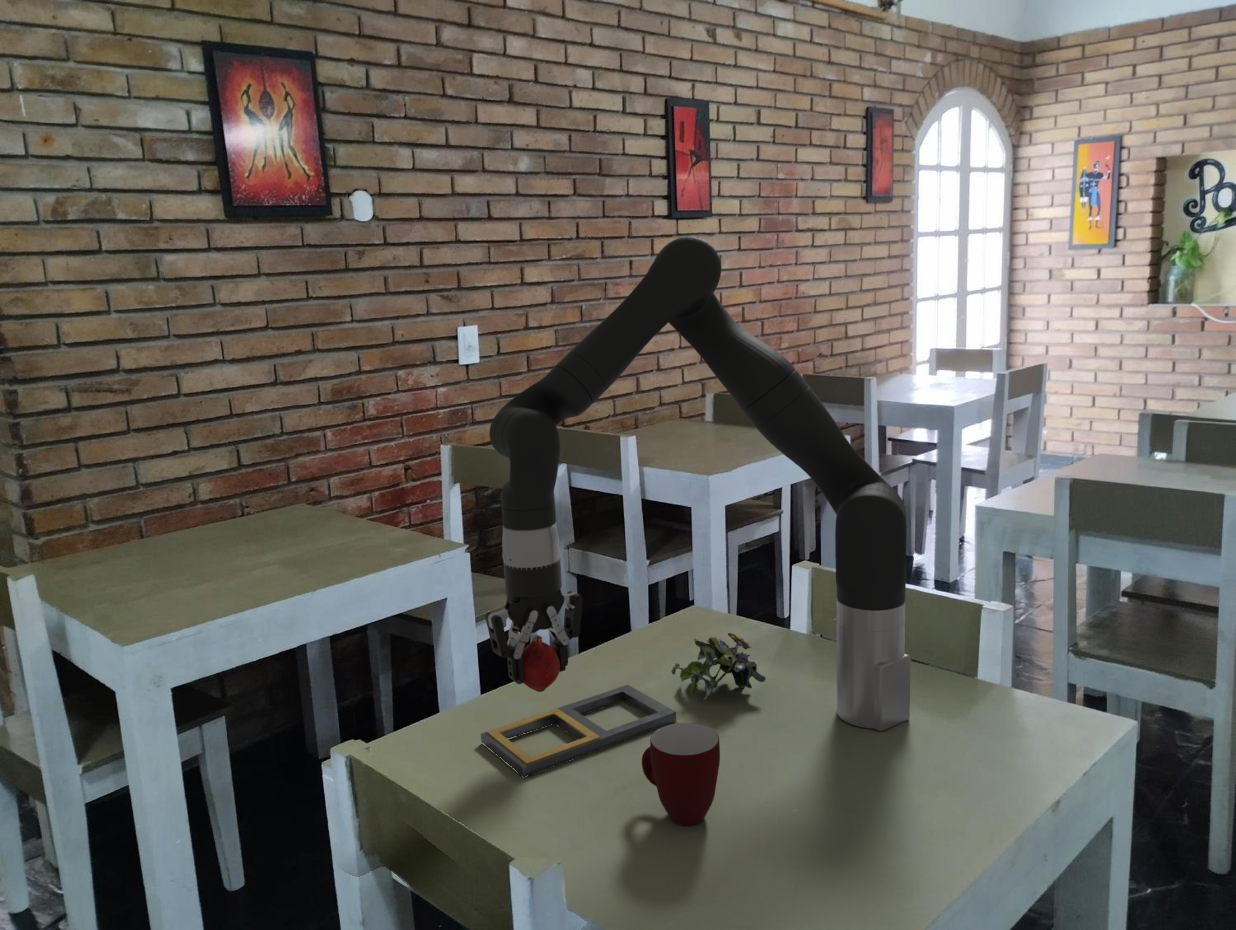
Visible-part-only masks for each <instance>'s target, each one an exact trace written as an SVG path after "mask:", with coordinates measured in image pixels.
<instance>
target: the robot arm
mask: <svg viewBox="0 0 1236 930" xmlns="http://www.w3.org/2000/svg"><path fill="white" fill-rule="evenodd" d="M721 276H722V262H721V259H720V255H719V254H718V252H717V250H716V249H715V248H714V247H713V245H712V244H711V243H709V242H708V241H706V240H705V239H702V238H699V237H696V236H681V237H678V238H675V239H674V240H672V241H669V242H668V243H667V244H666V245H664V246H663V247H662V248H661V249H660V251H659V252H658V253H657V255H656V257H655V258H654V261H653V262H652V264H651V265H650V266H649V268H648V271H647V272H646V274H644V277H642V279H641V280H640V281H639V283H638V284H637V285H636V286H635V287H634V288H633V290H632V291H631V292H630V293H629V294H628V296H626V298H625V299H624V300H623V301H622V302H621V303H620V304H619V305H618V306H617V307H616V308H615V309H614V310H613V311H612V312H611V313H610V314H609V315H608V316H607V317H606V318H604V320H602V321H601V322H600V323H599V324H598V325H597V326H596V327H595V328H594V329H593V330H591V331H590V332H589V333H588V334H587V335H586V336H585V337H584V338H582V339H581V341H579V343H577V344H576V345H575V346H574V347H573V348H572V349H570V351H569V352H568V353H567V354H566V355H564V357H563V358H562V359H561V360H560V361H559V362H557V364H555V365H554V366H553V367H552V369H551V370H549V372H548V373H546V375H545V376H544V377H542V378H541V379H540V380H537V382H535V383H533V384H532V385H530V386H528V387H527V388H526V389H524V390H523V391H522V392H520V393H519V394H517V395H516V396H514V397H513V398H512V399H510V400H509V401H508V402H507V403H505V404H504V405H503V406H502V407H501V408H500V410H498V412H496V414H495V416H494V417H493V419H492V420H491V424H490V425H489V434H488V435H489V440H490V443H491V445H492V448H493V449H494V450H495V451H496V452H497V453H498V454H500V455H501V456H502V457H505V458H508V459H509V481H507V482H506V483H504V485H503V486H502V489H501V494H500V495H501V496H500V501H501V502H500V503H501V517H502V539H501V541H502V543H501V545H502V560H503V575H504V586H505V587H504V589H505V594H506V603H505V605H504V608H503V609H501V610H499V611H496V612H494V611H493V612H492V611H488V612H486V613H485V616H484V619H485V623H486V627H487V630H488V635H489V639H490V640H489V641H490V644H491V649H492V652H494V653H495V654H497V656H500V657H501V658H503V659H506V658H507V659H506V660H507V661H506V662H507V671H508V672H507V673H508V677H509V678H510V679H511V680H512V681H513V682H514V683H515V684H517V685H523V684H524V669H523V658H522V657H521V655H522V652H523V650H524V648H525V647H526V644H527V643H528V642H529V640H530V638H531V634H534V633H537V632H538V631H541V630H548V632H549V634H550V636H551V638H552V639H553V640H554V641H552V642H551V647H552V648H553V649H554V650H555V651H556V653H557V655H558V658H559V662H560V672H559V673H561V672H564V671H566V670H567V669H566V668H567V666H568V664H569V653H568V652H569V651H568V644H569V642H570V640H572V639H574V638H575V639H577V638H579V637H580V635H581V624H582V623H581V622H582V613H583V611H582V610H583V600H584V598H583V596H582V595H581V594H579V593H577V592H574V591H571V590H569V591H567V592H566V593H563V592H562V590H561V589H562V569H561V567H562V566H561V565H562V564H561V550H560V536H559V531H558V528H557V527H558V525H557V515H556V514H557V513H556V499H555V487H556V481H557V477H558V472H559V471H558V470H559V463H560V457H561V440H560V439H561V437H560V434H559V429H558V427H557V426H558V425H559V424H560V423H561V422H562V421H565V420H567V419H571V418H576V417H578V416H581V415H582V414H583V413H585V412H586V411H587V410H588V409H589V408H590V407H592V405H593V404H594V403H595V402H596V401H597V400H599V398H600V397H601V396H603V394H604V393H605V392H607V390H608V389H609V388H610V387H611V386H612V385H613V384H614V383H615V382H616V381H617V380H618V379H619V377H620V376H621V375H622V374H623V373H624V372H625V371H626V369H627V368H628V367H629V366H630V365H631V364H632V362H633V361H634V360H635V358H637V356H638V355H639V354H640V353H641V352H642V350H643V349H644V348H645V347H646V346H647V345H648V344H649V343H650V342H651V340H653V338H654V337H655V336H656V335H657V334H658V333H659V332H660V331H661V330H662V329H663V328H664V327H666V325H667V324H669V325H670V326H671V327H672V328H673V329H674V330H675V331H676V332H677V333H678V334H679V335H680V336H681V337H682V338H683V339H684V340H685V341H686V342H687V343H688V344H689V345H690V346H691V347H692V348H693V349H694V351H695V352H696V353H697V354H698V355H699V356H700V357H701V359H702V360H703V361H704V363H706V365H707V366H708V368H709V369H710V371H711V372H712V373H713V375H714V376H715V377H716V379H717V380H718V381H719V382H720V383H721V384H722V385H723V387H724V388H725V390H726V391H727V392H728V393H729V394H730V396H731V398H733V400H734V401H735V402H736V404H737V405H738V407H739V408H740V409H741V411H743V413H744V414H745V415H746V418H747V419H749V421H750V422H751V424H753V426H754V428H756V429H757V431H758V432H759V433H760V434H761V436H763V437H764V438H765V439H766V440H767V441H768V442H769V443H770V444H771V445H772V446H773V447H774V448H775V449H776V450H778V451H779V452H780V453H781V454H782V455H784V456H785V457H786V458H788V460H790V461H792V463H794V464H795V465H796V466H798V467H799V468H800V469H801V470H802V471H803V472H805V473H806V475H807V476H809V478H810V479H811V480H812V482H813V483H815V485H816V486H817V487H818V488H817V489H819V490H820V492H821V493H822V495H823V496H824V498H825V499H826V500H827V502H828V503H829V505H830V506H831V509H832V510H833V511H834V513H835V515H836V516H835V517H836V518H835V528H834V530H835V532H834V534H835V535H834V538H835V539H834V543H835V544H834V547H835V548H834V549H835V551H834V552H835V554H834V555H835V557H834V559H835V584H836V585H835V586H836V714H837V716H838V717H839V718H840V720H842V721H844V722H846V723H847V724H849V725H853V726H856V727H860V728H866V729H872V730H873V729H874V730H877V731H879V732H882V731H884V730H885V731H886V730H887V729H889V728H890V729H891V728H893V727H894V726H896V725H899V724H901V723H904V722H906V721H908V720H909V719H910V715H911V713H910V710H911V706H910V705H911V656H910V655H909V654H908V653H905V637H906V635H905V634H906V633H905V632H906V631H905V629H906V628H905V627H906V626H905V625H906V623H905V622H906V590H907V589H906V588H907V586H906V585H907V535H908V533H907V530H908V529H907V528H908V526H907V511H906V506H905V503H904V501H903V499H902V497H901V496H900V495H899V493H898V492H897V491H896V490H895V489H894V488H893V486H891V485H890V483H888V482H887V481H886V480H885V479H884V478H883V477H882V476H881V475H880V474H879V473H878V472H877V471H876V470H875V469H874V468H873V467H872V466H871V465H870V464H869V463H868V461H866V460H865V459H864V457H862V456H861V455H860V454H859V453H858V452H857V450H856V449H855V448H854V447H853V446H852V445H851V443H850V442H849V440H848V439H847V437H846V436H845V435H844V433H843V432H842V430H841V428H840V427H839V425H838V424H837V422H836V421H835V420H834V418H833V416H832V415H831V413H830V412H829V411H828V409H827V408H826V407H825V405H824V404H823V402H822V401H821V400H820V398H819V397H818V395H817V394H816V393H815V392H814V390H813V389H812V388H811V386H810V384H808V383H807V381H806V380H805V378H804V377H803V376H802V375H801V374H800V372H799V371H798V370H797V369H796V367H794V365H793V364H792V363H791V362H790V361H789V360H788V359H787V358H786V357H785V356H784V355H783V354H782V353H780V352H779V351H777V350H776V349H775V348H773V347H772V346H770V345H769V344H767V343H766V342H763V341H762V340H761V339H760V338H758V337H756V336H754V335H753V334H752V333H750V332H748V331H747V330H745V328H743V327H742V326H741V325H739V323H738V322H737V321H736V320H735V319H734V318H733V317H732V316H731V315H730V313H729V312H728V311H727V309H726V308H725V307H724V305H723V304H722V303H721V302H720V300H719V299H718V297H717V296H716V293H714V292H716V289H717V287H718V285H719V284H720V279H721ZM562 607H563V608H564V616H563V617H564V619H563V623H562V621H561V619H560V617H559V614H560V612H561V610H562ZM507 619H509V620H510V621H511V623H510V627H509V630H508V634H507V635H508V640H507V637H506V631H505V628H506V627H507ZM520 630H521V632H520Z"/></svg>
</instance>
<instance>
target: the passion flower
mask: <svg viewBox="0 0 1236 930" xmlns="http://www.w3.org/2000/svg"><path fill="white" fill-rule="evenodd" d="M727 635H728V637H729V638H730V639H732V640H733V642H734V643H736V644H735V646H732V647H730V646H729V644H727V643H726V642H725V641H723V640H722V639H721V638H720V639H718V638H717V637H716V636H710V637H709V638H708V639H706V642H707V643H706V642H704V641H700V640H699V639H698V638H697V637H695V638H694V639H693V640H694V645H696V646H697V647H698V648H699V649H700V651H699V652H698V656H697V660H695V661H690V663H688V665H687V666H686V667H684V668H682V667H681V666H680V663H677V662H676V663H675V664H674V666H673V667H672V669H671V673H672V675H673V676H674V675H675V674H676V671H677V669H678V670H681V671H680V673H679V674H680V675H679V677H680V680H681V682H684V681H686V680H689V679H690V682H691V683H692V684H691V685H690V693H691V694H692V695H693V693H694V691H695V688H696V686H697V684H698V683H699V681H701V680H703V682H704V690H705V691H704V692H705V694H704V699H703V700H702V702H701V703H702V704H704V703H705V701H706V700H707V698H708V696H709V695H710V694H711V693H712V692H713V691H714V690H715V688H717V687H718V684H719V682H721V680H722V679H723V678H724V677H725V676H726V674H731V675H732V676H733V680H734V683H735V685H736V686H737V687H739V688H740V689H743V688H747V689H752V688H753V686H752V684H751V682H750V679H751V678H754V679H755V680H756V681H758V682H761V683H764V682H765V681H766V676H764V675H763V674H761V673H760V672H758V667H757V666H758V665H757V663H756V662H755V661H751V660H750V659H749V658H748V657H750V656H751V655H750V654H747V653H745V652H743V651H741V652H739V651H738V649H739V648H740V647H742V648H743V649H744V650H747V649H751V648H752V646H750V645H749V642H746V641H745V640H744V638H743V637H740V636H738V635H737V634H736V633H731V632H728V633H727ZM702 659H705V661H704V662H701V661H700V660H702ZM717 665H719V669H718V671H717V672H716V674H715V676H712V675H711V672H710V670H711V668H712V667H714V666H717ZM720 671H722V672H723V674H722V675H721V676H720V677H719V678H718V679H717V677H718V676H719V673H720ZM704 676H705V677H708V678H709V679H706V678H705V677H704ZM716 679H717V680H716Z"/></svg>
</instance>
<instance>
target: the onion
mask: <svg viewBox="0 0 1236 930" xmlns="http://www.w3.org/2000/svg"><path fill="white" fill-rule="evenodd" d="M521 657H522V658H523V669H524V683H523V684H524V685H526V687H527V688H529V689H531V690H533V691H536V692H538V693H543V692H544V691H545V690H546V689H548V688H549V687H550V686H551V685H552V684H553V683H554V682H555V681H556V679H557V678H558V676H559V674H560V673H561V672H560V662H559V658H558V655H557V653H556V651H555V650H554V649H553V648H552V645H549V644H548V643H547V642H544V641H543V636H541V635H539V634H537V635H534V637H533V638H532V641H531V642H530V643H529V644H527V645H525V646H524V649H523V652H522V655H521Z"/></svg>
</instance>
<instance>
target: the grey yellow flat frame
mask: <svg viewBox="0 0 1236 930" xmlns="http://www.w3.org/2000/svg"><path fill="white" fill-rule="evenodd" d="M621 702H624V703H626V704H628V705H629V706H632V707H633V708H635V709H637V710H639V711H640V712H642V713H643V714H645V715H646V716H644V717H641V718H638V719H635V720H633V721H630V722H627V723H625V724H622V725H619V726H616V727H613V728H611V729H608V730H605V728H602V727H601V726H600V725H598V724H596V723H595V722H593V721H592V720H590V719H588V718H587V716H584V715H585V713H586V714H588V712H589V713H591V712H590V711H592V712H594V710H595V711H598V710H600V708H601V709H603V708H602V707H604V708H606V707H609V706H612V705H615V704H618V703H621ZM597 709H598V710H597ZM582 714H583V715H582ZM674 723H677V711H676V710H675V709H672V708H670V707H669V706H667V705H666V704H663V703H661V702H659V701H657V700H656V699H654V698H652V697H650V696H649V695H647V694H645V693H643V692H642V691H640V690H638V689H636V688H635V687H633V686H630V685H629V684H626V685H623V686H620V687H617V688H613V689H611V690H608V691H604V692H602V693H598V694H595V695H593V696H590V697H587V698H584V699H580V700H578V701H575V702H572V703H569V704H566V705H563V706H560V707H555V708H553V709H550V710H547V711H544V712H542V713H538V714H535V715H532V716H529V717H526V718H524V719H520V720H517V721H514V722H511V723H508V724H505V725H503V726H499V727H497V728H493V729H490V730H487V731H485V732H482V733H480V741H481V742H482V743H484V744H485V745H486V746H487V747H488V748H490V749H491V750H492V751H493V752H494V753H495V754H497V755H498V756H499V757H501V758H502V759H503V760H504V761H505V762H507V763H508V764H509V765H510V766H512V768H514V769H515V770H516V771H517V772H518V773H519V774H520V775H522V776H523V777H525V776H527V775H531V774H534V773H536V774H538V773H537V772H539V773H541V772H540V771H542V772H544V771H546V770H545V769H547V770H549V769H548V768H550V767H553V766H555V767H557V766H556V765H558V766H560V765H559V764H561V763H563V764H565V763H564V762H566V761H569V760H571V761H573V760H572V759H574V760H576V759H575V758H577V757H579V758H581V757H580V756H582V757H584V756H583V755H585V756H587V755H589V754H588V753H590V754H592V753H591V752H593V753H595V752H594V751H596V752H597V750H598V751H600V750H599V749H601V750H603V749H602V748H604V747H606V748H608V747H607V746H609V747H611V746H610V745H612V746H614V745H616V743H617V744H619V743H623V742H624V740H625V741H627V740H630V739H633V738H635V737H638V736H641V735H643V734H646V733H649V732H651V731H654V730H655V731H656V730H658V729H660V728H662V727H664V726H667V725H671V724H674ZM551 724H554V725H555V724H556V725H555V726H557V725H558V726H559V727H558V726H557V727H558V728H560V729H561V728H562V729H563V731H564V730H565V731H567V732H568V733H569V734H568V733H567V732H566V733H567V734H568V735H570V736H571V735H572V736H571V737H573V736H574V737H573V739H574V738H576V739H575V740H574V741H573V740H572V741H571V742H568V743H565V744H563V745H559V746H558V747H555V748H551V749H549V750H546V751H542V752H540V753H538V754H534V755H532V756H530V755H529V754H528V753H526V752H525V751H524V750H522V749H521V748H520V747H518V746H517V745H516V744H515V743H513V742H512V741H510V740H508V739H507V738H511V737H514V736H519V735H521V734H523V733H527V732H530V731H534V730H536V729H540V730H542V729H543V728H542V727H545V726H548V727H550V726H549V725H551ZM551 726H552V725H551ZM541 728H542V729H541ZM545 728H546V727H545ZM562 729H561V730H562ZM565 731H564V732H565ZM534 732H535V731H534ZM519 737H520V736H519ZM577 739H578V740H577ZM613 744H614V745H613ZM604 749H605V748H604ZM495 754H494V755H495ZM586 754H587V755H586ZM577 759H578V758H577ZM569 762H570V761H569ZM566 763H567V762H566ZM561 765H562V764H561ZM553 768H554V767H553ZM550 769H551V768H550ZM543 770H544V771H543ZM518 773H517V774H518ZM519 774H518V775H519ZM520 775H519V776H520ZM534 775H535V774H534ZM531 776H532V775H531Z"/></svg>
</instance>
